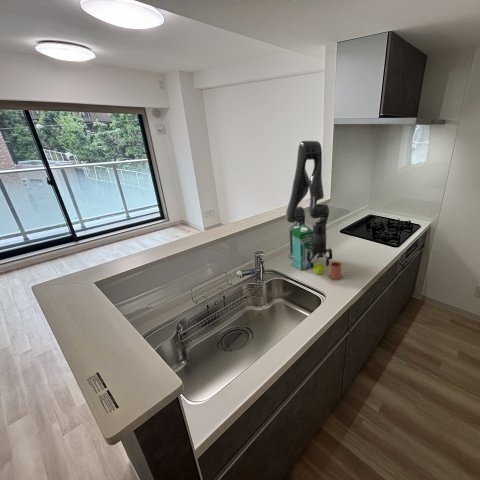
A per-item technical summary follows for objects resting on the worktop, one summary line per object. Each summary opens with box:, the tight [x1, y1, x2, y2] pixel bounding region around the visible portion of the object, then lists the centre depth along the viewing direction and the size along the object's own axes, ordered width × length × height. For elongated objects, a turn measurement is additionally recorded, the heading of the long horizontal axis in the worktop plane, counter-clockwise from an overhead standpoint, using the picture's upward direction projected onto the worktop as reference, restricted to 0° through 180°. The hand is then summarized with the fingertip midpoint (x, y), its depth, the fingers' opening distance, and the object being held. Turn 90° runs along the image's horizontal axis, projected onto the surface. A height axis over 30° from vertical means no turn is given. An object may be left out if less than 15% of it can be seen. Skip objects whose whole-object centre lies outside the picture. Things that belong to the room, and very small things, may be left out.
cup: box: [329, 261, 342, 280], centre depth 144 cm, size 6×6×8 cm
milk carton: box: [292, 223, 313, 271], centre depth 155 cm, size 9×9×25 cm
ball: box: [312, 262, 326, 275], centre depth 149 cm, size 6×6×6 cm
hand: (319, 266), depth 148 cm, fingers open, 8 cm apart
